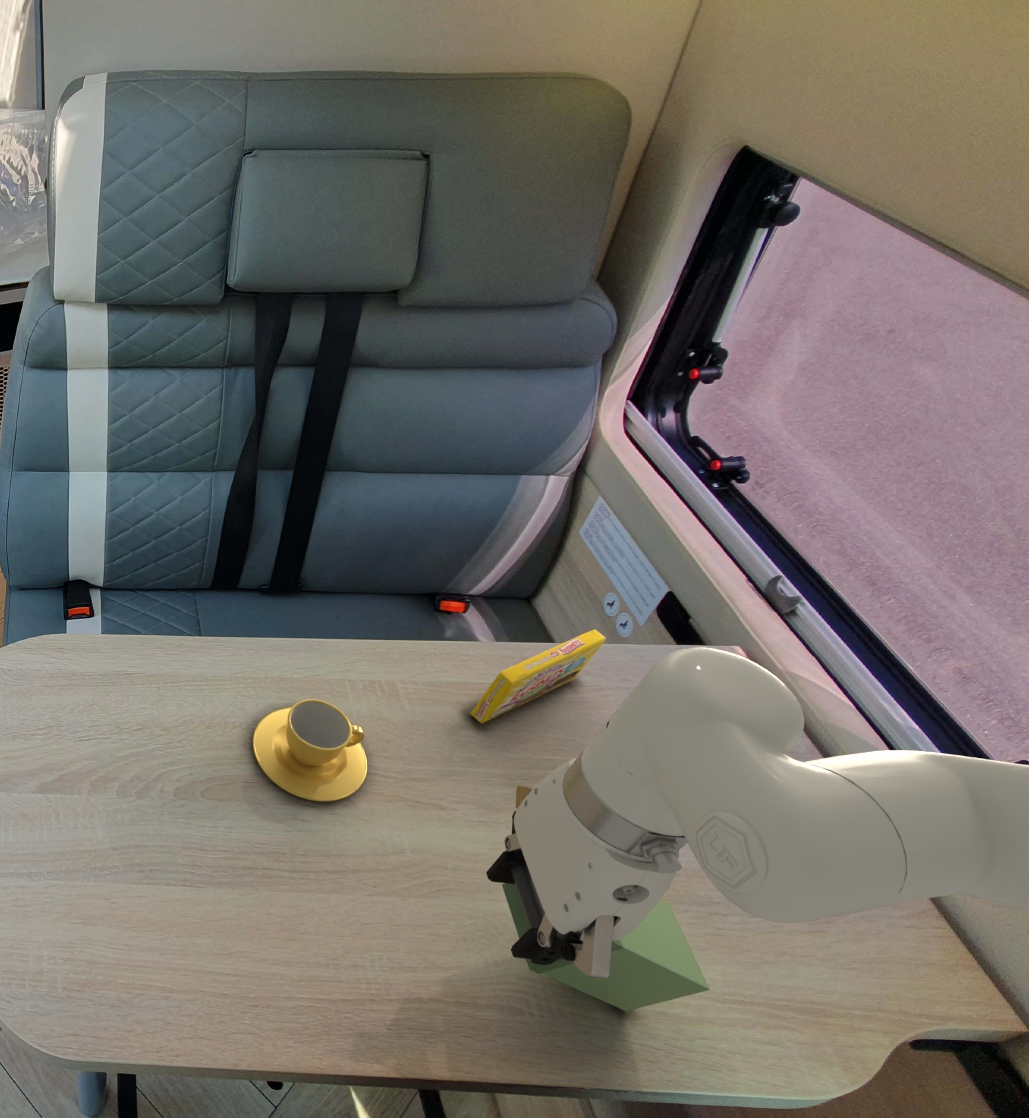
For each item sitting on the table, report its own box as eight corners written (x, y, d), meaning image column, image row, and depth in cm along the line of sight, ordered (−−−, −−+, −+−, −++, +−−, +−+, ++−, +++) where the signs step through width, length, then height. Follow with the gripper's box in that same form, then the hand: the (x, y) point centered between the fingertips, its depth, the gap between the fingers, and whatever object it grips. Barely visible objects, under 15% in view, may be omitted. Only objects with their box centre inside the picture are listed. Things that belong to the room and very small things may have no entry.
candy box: (483, 727, 90) (512, 683, 85) (468, 714, 91) (496, 669, 86) (575, 682, 95) (608, 637, 90) (560, 670, 96) (592, 625, 91)
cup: (265, 803, 82) (276, 774, 79) (242, 709, 91) (251, 678, 88) (381, 803, 83) (398, 774, 79) (346, 709, 92) (360, 679, 88)
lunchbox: (716, 990, 64) (588, 928, 60) (625, 1013, 68) (500, 957, 64) (673, 901, 69) (553, 838, 65) (591, 928, 74) (474, 871, 69)
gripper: (758, 933, 48) (607, 1035, 60) (631, 703, 61) (528, 826, 73) (626, 919, 48) (504, 1023, 61) (528, 693, 61) (443, 817, 73)
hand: (518, 914), depth 67 cm, fingers closed on lunchbox, 5 cm apart
